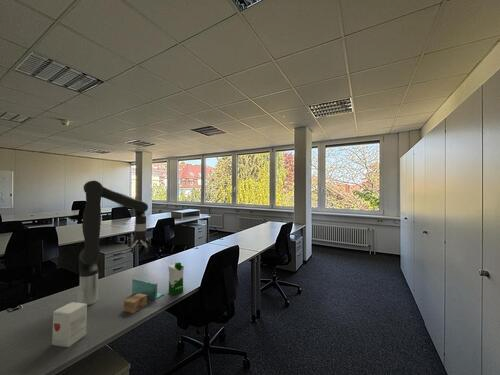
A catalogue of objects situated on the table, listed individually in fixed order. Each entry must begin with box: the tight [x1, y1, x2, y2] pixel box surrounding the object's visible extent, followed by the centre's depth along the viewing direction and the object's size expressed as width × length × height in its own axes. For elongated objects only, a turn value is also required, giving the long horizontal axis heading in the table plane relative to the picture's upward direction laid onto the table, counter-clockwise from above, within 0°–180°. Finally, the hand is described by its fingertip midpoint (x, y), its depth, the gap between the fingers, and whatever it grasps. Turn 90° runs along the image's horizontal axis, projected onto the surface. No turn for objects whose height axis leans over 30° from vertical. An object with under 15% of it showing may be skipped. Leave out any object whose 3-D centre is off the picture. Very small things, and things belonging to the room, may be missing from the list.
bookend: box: [131, 278, 165, 301], centre depth 144 cm, size 8×20×10 cm, turn 68°
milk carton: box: [168, 262, 185, 296], centre depth 149 cm, size 9×9×20 cm
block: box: [123, 293, 148, 314], centre depth 128 cm, size 10×7×6 cm
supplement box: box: [51, 301, 88, 348], centre depth 100 cm, size 9×9×15 cm
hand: (139, 252), depth 154 cm, fingers open, 8 cm apart
